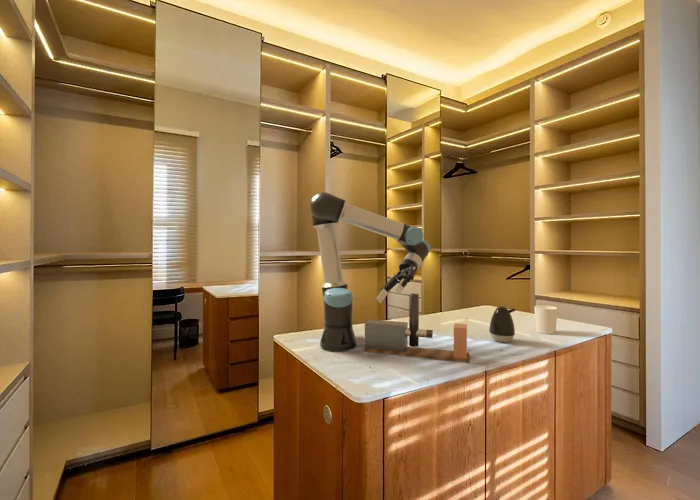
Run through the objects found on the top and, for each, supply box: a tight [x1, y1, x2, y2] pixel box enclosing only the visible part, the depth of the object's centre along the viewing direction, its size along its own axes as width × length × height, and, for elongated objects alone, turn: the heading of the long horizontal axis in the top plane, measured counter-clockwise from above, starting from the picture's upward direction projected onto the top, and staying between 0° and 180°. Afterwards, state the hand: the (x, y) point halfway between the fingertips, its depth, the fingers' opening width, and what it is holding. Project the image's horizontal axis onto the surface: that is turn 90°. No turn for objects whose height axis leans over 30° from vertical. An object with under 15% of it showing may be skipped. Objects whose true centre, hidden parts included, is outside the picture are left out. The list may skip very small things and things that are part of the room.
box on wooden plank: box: [364, 319, 409, 352], centre depth 139 cm, size 16×6×10 cm, turn 71°
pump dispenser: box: [489, 305, 516, 343], centre depth 152 cm, size 10×10×15 cm
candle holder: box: [533, 305, 558, 335], centre depth 167 cm, size 10×10×12 cm
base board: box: [363, 346, 471, 364], centre depth 135 cm, size 40×9×1 cm, turn 71°
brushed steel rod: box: [405, 293, 434, 347], centre depth 137 cm, size 24×4×20 cm, turn 71°
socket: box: [453, 322, 468, 359], centre depth 130 cm, size 4×7×11 cm, turn 161°
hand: (387, 296), depth 141 cm, fingers open, 13 cm apart
